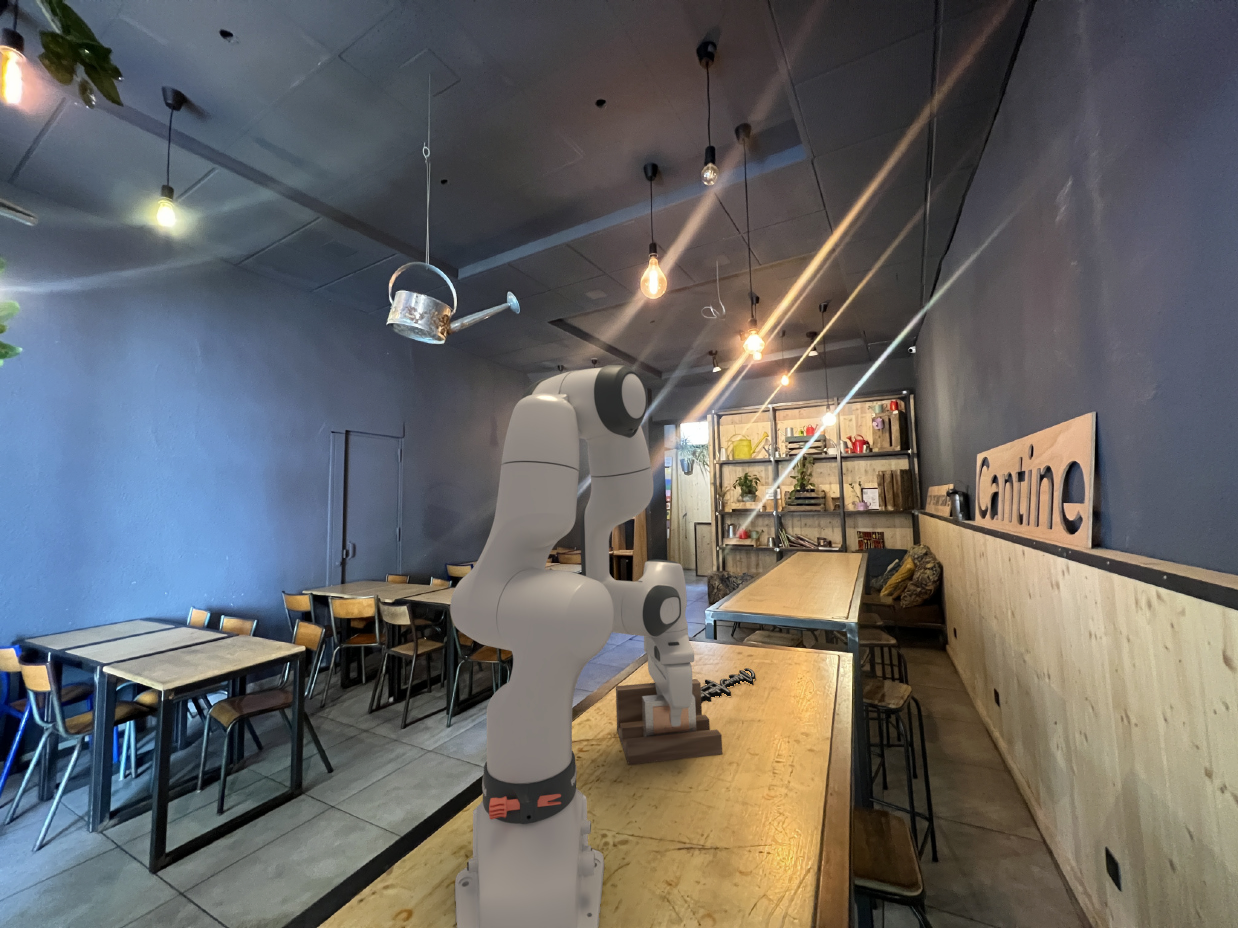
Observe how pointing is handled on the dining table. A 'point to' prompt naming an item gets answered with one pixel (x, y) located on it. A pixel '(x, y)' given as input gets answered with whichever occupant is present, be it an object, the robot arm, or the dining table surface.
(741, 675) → the nameplate
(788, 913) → the dining table surface
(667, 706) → the light grey rectangular block
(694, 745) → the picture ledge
